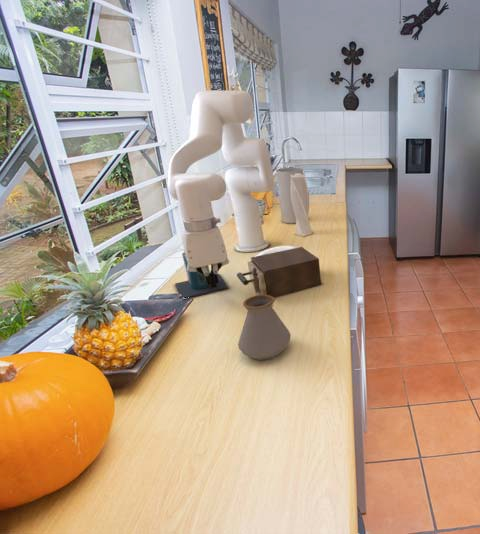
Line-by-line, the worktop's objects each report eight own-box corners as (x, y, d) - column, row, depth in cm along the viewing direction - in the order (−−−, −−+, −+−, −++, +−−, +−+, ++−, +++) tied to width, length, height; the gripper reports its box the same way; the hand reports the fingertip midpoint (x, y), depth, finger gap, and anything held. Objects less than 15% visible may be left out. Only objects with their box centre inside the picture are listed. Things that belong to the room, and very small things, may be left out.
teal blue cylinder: (188, 284, 122) (180, 251, 118) (210, 279, 126) (203, 247, 121) (192, 293, 116) (184, 259, 112) (215, 287, 120) (208, 254, 116)
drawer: (248, 300, 111) (244, 278, 108) (236, 285, 120) (233, 264, 118) (312, 283, 121) (310, 262, 119) (297, 270, 131) (295, 251, 128)
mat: (175, 285, 123) (175, 283, 123) (218, 275, 130) (218, 273, 130) (181, 300, 113) (181, 298, 113) (228, 288, 120) (227, 287, 120)
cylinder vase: (284, 217, 198) (278, 168, 189) (309, 216, 199) (304, 167, 190) (280, 224, 187) (273, 172, 177) (306, 223, 188) (301, 171, 178)
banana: (311, 254, 148) (306, 269, 134) (261, 258, 147) (251, 273, 133) (309, 242, 146) (304, 256, 133) (259, 246, 145) (248, 260, 131)
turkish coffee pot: (295, 358, 86) (286, 298, 81) (240, 370, 83) (227, 308, 77) (285, 314, 105) (278, 263, 99) (240, 322, 101) (230, 270, 95)
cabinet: (268, 298, 114) (264, 271, 110) (255, 283, 124) (250, 257, 121) (321, 284, 123) (318, 258, 119) (304, 270, 133) (301, 246, 130)
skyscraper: (316, 233, 173) (310, 169, 162) (304, 237, 167) (297, 172, 157) (304, 230, 177) (297, 168, 166) (292, 234, 171) (284, 170, 161)
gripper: (225, 217, 111) (236, 275, 118) (166, 226, 103) (182, 288, 110) (232, 223, 105) (243, 284, 112) (170, 233, 97) (186, 298, 104)
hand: (213, 286), depth 111 cm, fingers closed
